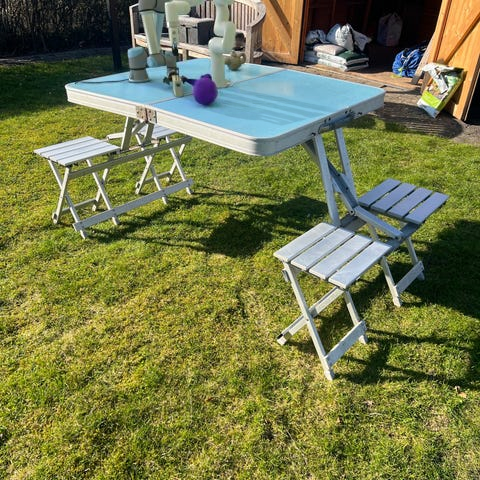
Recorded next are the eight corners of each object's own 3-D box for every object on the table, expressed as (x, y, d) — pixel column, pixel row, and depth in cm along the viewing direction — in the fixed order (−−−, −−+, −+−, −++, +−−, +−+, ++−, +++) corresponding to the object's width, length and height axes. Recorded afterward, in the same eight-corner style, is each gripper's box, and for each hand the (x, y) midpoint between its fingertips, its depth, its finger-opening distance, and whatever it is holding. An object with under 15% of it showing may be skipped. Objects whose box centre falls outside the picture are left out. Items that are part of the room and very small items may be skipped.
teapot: (226, 72, 363) (226, 52, 355) (220, 70, 372) (219, 50, 364) (249, 69, 372) (249, 50, 365) (242, 67, 381) (241, 48, 373)
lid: (181, 81, 288) (180, 67, 284) (174, 82, 287) (173, 68, 283) (178, 76, 303) (177, 63, 299) (172, 77, 302) (170, 63, 298)
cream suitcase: (182, 96, 293) (181, 81, 289) (175, 96, 292) (174, 82, 288) (180, 90, 308) (178, 76, 303) (173, 91, 307) (172, 77, 302)
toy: (205, 96, 290) (217, 110, 270) (179, 91, 283) (189, 106, 262) (211, 71, 282) (224, 84, 262) (184, 66, 275) (195, 79, 254)
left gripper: (189, 80, 324) (193, 87, 305) (158, 82, 320) (160, 89, 301) (188, 70, 320) (192, 75, 301) (157, 71, 316) (159, 77, 297)
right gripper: (180, 25, 266) (182, 56, 275) (177, 23, 281) (180, 52, 289) (167, 26, 265) (170, 57, 273) (165, 23, 279) (168, 53, 288)
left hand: (176, 82), depth 301 cm, fingers open, 9 cm apart
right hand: (175, 55), depth 281 cm, fingers open, 9 cm apart
